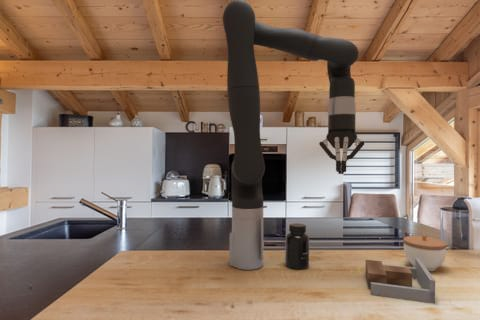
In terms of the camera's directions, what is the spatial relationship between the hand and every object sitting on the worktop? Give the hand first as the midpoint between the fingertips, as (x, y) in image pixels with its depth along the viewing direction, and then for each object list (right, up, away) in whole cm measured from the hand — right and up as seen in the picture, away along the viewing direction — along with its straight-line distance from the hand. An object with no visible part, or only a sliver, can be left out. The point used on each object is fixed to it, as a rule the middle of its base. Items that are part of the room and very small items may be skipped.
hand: (341, 173), depth 90 cm
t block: (+8, -27, -12) cm, 31 cm away
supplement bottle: (-13, -27, +1) cm, 30 cm away
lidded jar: (+24, -27, 0) cm, 36 cm away
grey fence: (+10, -27, -13) cm, 32 cm away
